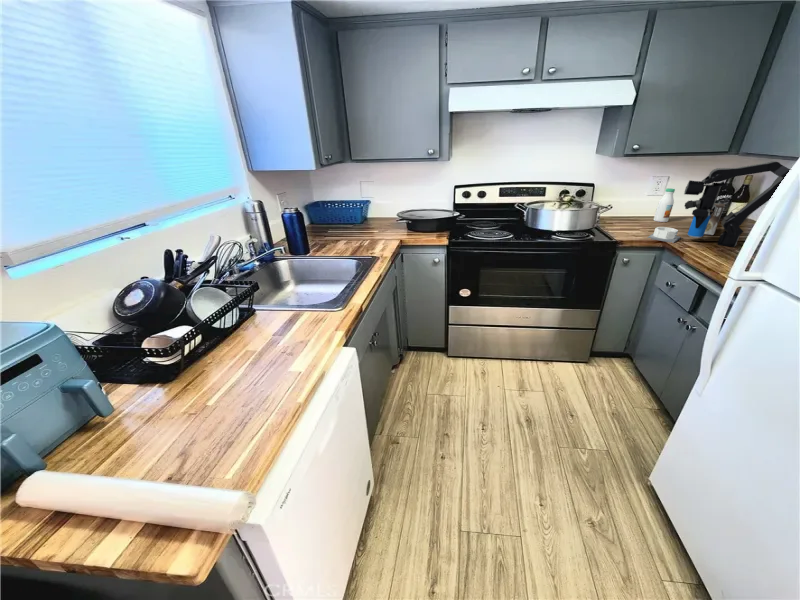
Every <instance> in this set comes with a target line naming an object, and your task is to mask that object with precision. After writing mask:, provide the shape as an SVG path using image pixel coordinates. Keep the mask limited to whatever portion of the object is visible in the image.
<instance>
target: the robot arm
mask: <svg viewBox="0 0 800 600" xmlns="http://www.w3.org/2000/svg"><path fill="white" fill-rule="evenodd" d="M789 170H791V169H790V168H789V167H787V166H785V165H783V164H781V163H780V162H779V161H775V160H772V161H769V162H763V163H757V164H751V165H746V166H740V167H722V168H721V167H720V168H714V169H712V170H711V171H710V172H709V174H708V175H707V176H706V177H704V178H703V179H702V180H688V182H687V184H686V186H685V189H684V191H683V192H684V193H683V195H687V196H689V195H691V196H699V195H700V194H702V195H701V197H700V198H699V199H696V200H688V201H686V202H685V203H684V208H685V210H689V209H692V208H695V209H693V210H692V212H691V215H692V216H693V217H694V216H695V217H696V225H695V228H699V226H700V225H701V224H702V223H703V222H704V221H705V220H706V218H707V217H708V216H709V214H710V216H711V215H712V214H713V212H710V210H713V211H715V210H716V205H714V204H715V203H716V201H717V200H718V196H719V194H720V190H721V188H727V186H728V185H727V184H726V183H725V181H727V180H731V179H732V178H736V177H741V176H747V175H749V176H750V175H754V174H761V173H766V172H771V173H773V174H774V175H776V176H777V177H776V179H775V180H773V182H772V184H771V185H770V186H769V187H768V188H766V189H765V190H763V192H761V193H759V195H757V196H756V197H755V198H754V199H752V200H751V201H749V203H747V204H746V205H745V206H743V207H742V208H741V209H740V210H737V211H736V212H733V211H730V212H729V213H728V214H727V215H726V216H724V217H722V218H723V219H722V220H721V223H720V224H721V226H722V228H723V230H724V231H723V232H722V233H721V234H720V235H719V237H718V240H717V245H718V246H725V247H731V248H736V246H737V243H738V241H739V238H740V236H741V235H742V233H744V231H743V229H742V228H741V227H740V226H741V225H743V223H744V222H745V220H747V218H748V217H749V216H750V215H752V214H753V213H754V212H755V211H757V210H758V209H759V208H761V207H762V206H763V205H765V204H766V203H767V202H769V201H770V200H771V199H772V198H771V196H772V195H773V193H774V192H775V190H776V189H777V187H778V186H779V184H780V183H781V181H782V180H783V179H784V177H785V176H786V174H787V173H788V172H789ZM770 198H771V199H770ZM769 199H770V200H769Z"/></svg>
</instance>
